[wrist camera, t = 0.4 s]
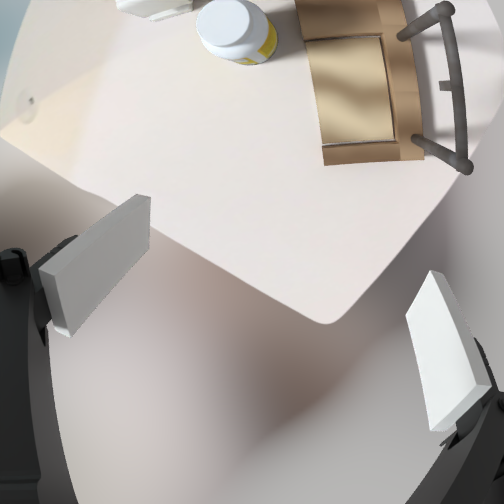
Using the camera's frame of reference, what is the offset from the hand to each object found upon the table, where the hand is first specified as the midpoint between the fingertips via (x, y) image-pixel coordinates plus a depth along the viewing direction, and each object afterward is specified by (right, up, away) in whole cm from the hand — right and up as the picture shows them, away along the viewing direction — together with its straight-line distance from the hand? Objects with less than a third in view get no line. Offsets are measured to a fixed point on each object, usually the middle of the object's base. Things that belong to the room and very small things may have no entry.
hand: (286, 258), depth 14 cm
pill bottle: (-2, +25, +17) cm, 30 cm away
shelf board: (+10, +25, +14) cm, 31 cm away
